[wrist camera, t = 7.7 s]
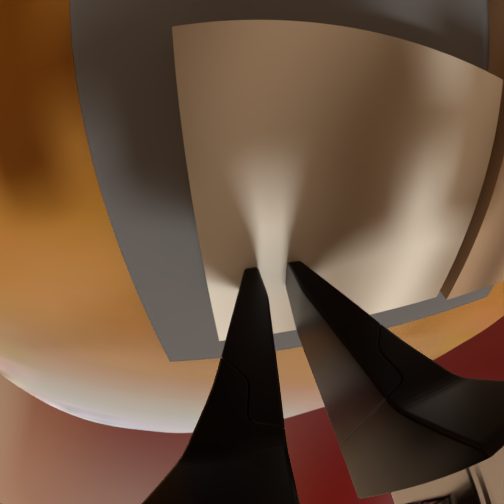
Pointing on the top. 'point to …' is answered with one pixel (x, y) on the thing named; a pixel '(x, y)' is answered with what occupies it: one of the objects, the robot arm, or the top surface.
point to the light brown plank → (485, 195)
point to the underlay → (172, 145)
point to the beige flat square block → (329, 158)
